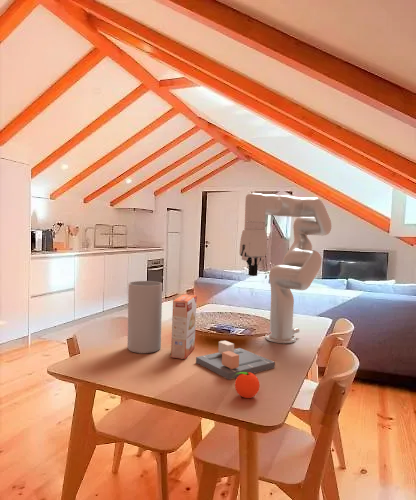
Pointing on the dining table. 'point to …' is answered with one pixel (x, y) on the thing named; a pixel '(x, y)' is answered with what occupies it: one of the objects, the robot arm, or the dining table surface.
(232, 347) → the ivory fader
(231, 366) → the terracotta fader
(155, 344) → the cylinder vase
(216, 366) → the fader panel
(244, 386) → the clementine
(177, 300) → the cracker box
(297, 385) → the dining table surface
